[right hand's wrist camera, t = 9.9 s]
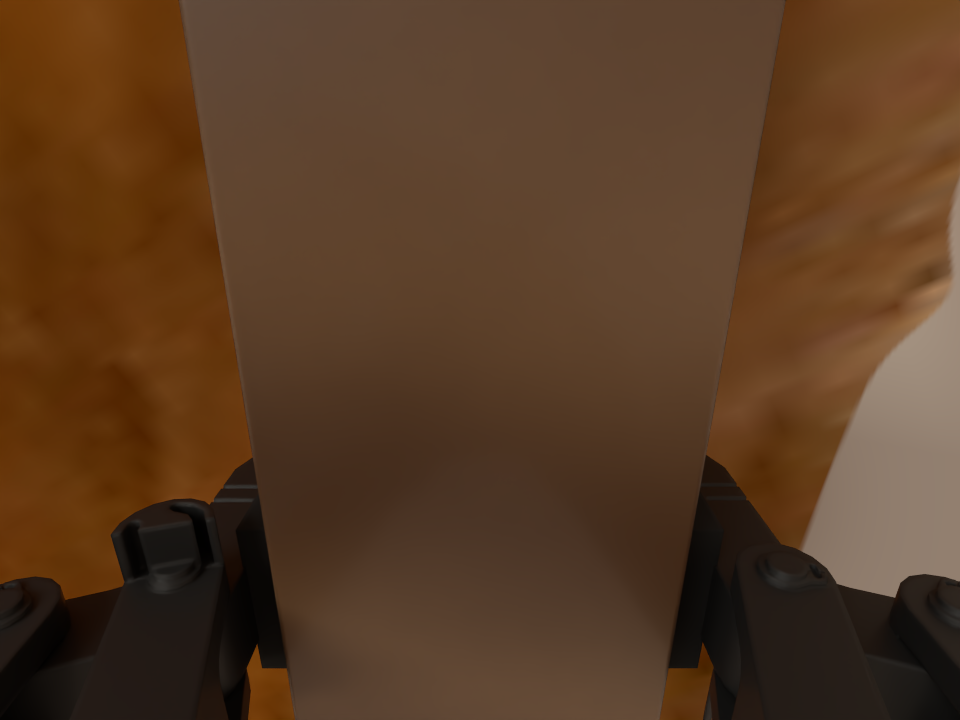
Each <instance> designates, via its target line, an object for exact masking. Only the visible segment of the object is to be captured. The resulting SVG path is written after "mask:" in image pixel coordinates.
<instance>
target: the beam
mask: <svg viewBox="0 0 960 720" xmlns="http://www.w3.org/2000/svg"><path fill="white" fill-rule="evenodd" d="M785 1H786V0H179V5H180V11H181V17H182V23H183V29H184V36H185V42H186V48H187V54H188V60H189V66H190V73H191V79H192V85H193V91H194V97H195V103H196V110H197V116H198V122H199V128H200V134H201V141H202V147H203V153H204V159H205V165H206V171H207V178H208V184H209V190H210V196H211V202H212V208H213V215H214V221H215V227H216V233H217V239H218V246H219V252H220V258H221V264H222V270H223V276H224V283H225V289H226V295H227V301H228V307H229V313H230V320H231V326H232V332H233V338H234V344H235V351H236V357H237V363H238V369H239V375H240V381H241V388H242V394H243V400H244V406H245V412H246V418H247V425H248V431H249V437H250V443H251V449H252V456H253V462H254V468H255V474H256V480H257V486H258V493H259V499H260V505H261V511H262V517H263V523H264V530H265V536H266V542H267V548H268V554H269V561H270V567H271V573H272V579H273V585H274V591H275V598H276V604H277V610H278V616H279V622H280V629H281V635H282V641H283V647H284V653H285V659H286V666H287V672H288V678H289V684H290V690H291V696H292V703H293V709H294V715H295V720H659V719H660V713H661V708H662V702H663V696H664V691H665V685H666V679H667V673H668V668H669V662H670V656H671V651H672V645H673V639H674V634H675V628H676V622H677V616H678V611H679V605H680V599H681V594H682V588H683V582H684V577H685V571H686V565H687V560H688V554H689V548H690V542H691V537H692V531H693V525H694V520H695V514H696V508H697V503H698V497H699V491H700V485H701V480H702V474H703V468H704V463H705V457H706V451H707V446H708V440H709V434H710V429H711V423H712V417H713V411H714V406H715V400H716V394H717V389H718V383H719V377H720V372H721V366H722V360H723V354H724V349H725V343H726V337H727V332H728V326H729V320H730V315H731V309H732V303H733V298H734V292H735V286H736V280H737V275H738V269H739V263H740V258H741V252H742V246H743V241H744V235H745V229H746V223H747V218H748V212H749V206H750V201H751V195H752V189H753V184H754V178H755V172H756V166H757V161H758V155H759V149H760V144H761V138H762V132H763V127H764V121H765V115H766V110H767V104H768V98H769V92H770V87H771V81H772V75H773V70H774V64H775V58H776V53H777V47H778V41H779V35H780V30H781V24H782V18H783V13H784V7H785Z"/></svg>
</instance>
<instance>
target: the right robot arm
mask: <svg viewBox="0 0 960 720" xmlns="http://www.w3.org/2000/svg"><path fill="white" fill-rule="evenodd" d="M111 538H112V541H113V544H114V548H115V551H116V555H117V558H118V561H119V565H120V568H121V572H122V575H123V578H124V585H123V587H119V588H116V589H112V590H109V591H104V592H100V593H95V594H91V595H86V596H82V597H77V598H73V599H68V600H65V599H64V596H63V593H62V590H61V587H60V585H59V584H57V583H56V582H55V581H54V580H52V579H50V578H42V577H30V578H23V579H16V580H13V581H10V582H6V583H4V584H0V720H248V713H249V702H250V692H251V690H250V684H249V677H248V673H247V666H248V664H249V661H250V659H251V657H252V654H253V652H254V650H255V648H256V645H257V644H258V649H259V654H260V659H261V664H262V668H287V666H286V659H285V653H284V647H283V641H282V635H281V629H280V622H279V616H278V610H277V604H276V598H275V591H274V585H273V579H272V573H271V567H270V561H269V554H268V548H267V542H266V536H265V530H264V523H263V517H262V511H261V505H260V499H259V493H258V486H257V480H256V474H255V468H254V462H253V458H251V459H250V460H248V461H247V462H246V463H244V464H243V465H241V466H240V467H238V468H237V469H235V471H234V472H233V473H232V475H231V476H230V478H229V479H228V480H227V482H226V483H225V484H224V488H223V489H221V490H220V491H219V493H218V494H217V495H216V497H215V498H214V502H211V504H210V505H208V504H207V503H206V502H204V501H200V500H195V499H173V500H169V501H165V502H161V503H157V504H153V505H151V506H149V507H146V508H144V509H142V510H139V511H137V512H135V513H134V514H132V515H131V516H129V517H128V518H127V519H125V520H124V521H122V522H121V523H120V524H119V525H118V526H117V528H116V529H115V530H114V531H113V533H112V534H111ZM702 642H703V643H704V645H705V648H706V650H707V652H708V655H709V657H710V659H711V661H712V664H713V666H714V668H713V673H712V677H711V682H710V687H709V692H708V697H707V701H706V706H705V711H704V717H703V720H711V719H712V720H960V582H958V581H956V580H952V579H949V578H946V577H940V576H934V575H927V574H922V575H915V576H909V577H908V578H906V579H905V580H904V581H902V582H901V583H900V586H899V589H898V591H897V594H896V597H895V598H893V597H889V596H885V595H880V594H875V593H871V592H866V591H862V590H857V589H853V588H849V587H845V586H842V585H839V584H836V581H835V580H834V578H833V577H832V575H831V574H830V572H829V571H828V570H827V568H826V567H824V566H823V565H822V564H820V563H819V562H818V561H817V560H815V559H814V558H813V557H811V556H809V555H807V554H805V553H803V552H801V551H799V550H797V549H795V548H792V547H789V546H785V545H781V544H780V543H779V541H778V540H777V538H776V537H775V536H774V534H773V533H772V532H771V530H770V529H769V527H768V526H767V525H766V523H765V522H764V521H763V519H762V518H761V517H760V515H759V514H758V512H757V511H756V510H755V508H754V507H753V506H752V504H751V503H750V502H749V500H746V496H745V495H744V493H743V492H742V491H741V489H740V488H739V487H737V486H736V482H735V481H734V480H733V478H732V477H731V476H730V474H729V473H728V471H727V470H726V469H725V468H724V467H723V466H722V465H720V464H719V463H717V462H716V461H714V460H713V459H711V458H710V457H708V456H707V455H706V457H705V463H704V468H703V474H702V480H701V485H700V491H699V497H698V503H697V508H696V514H695V520H694V525H693V531H692V537H691V542H690V548H689V554H688V560H687V565H686V571H685V577H684V582H683V588H682V594H681V599H680V605H679V611H678V616H677V622H676V628H675V634H674V639H673V645H672V651H671V656H670V662H669V668H698V662H699V657H700V652H701V647H702Z"/></svg>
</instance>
